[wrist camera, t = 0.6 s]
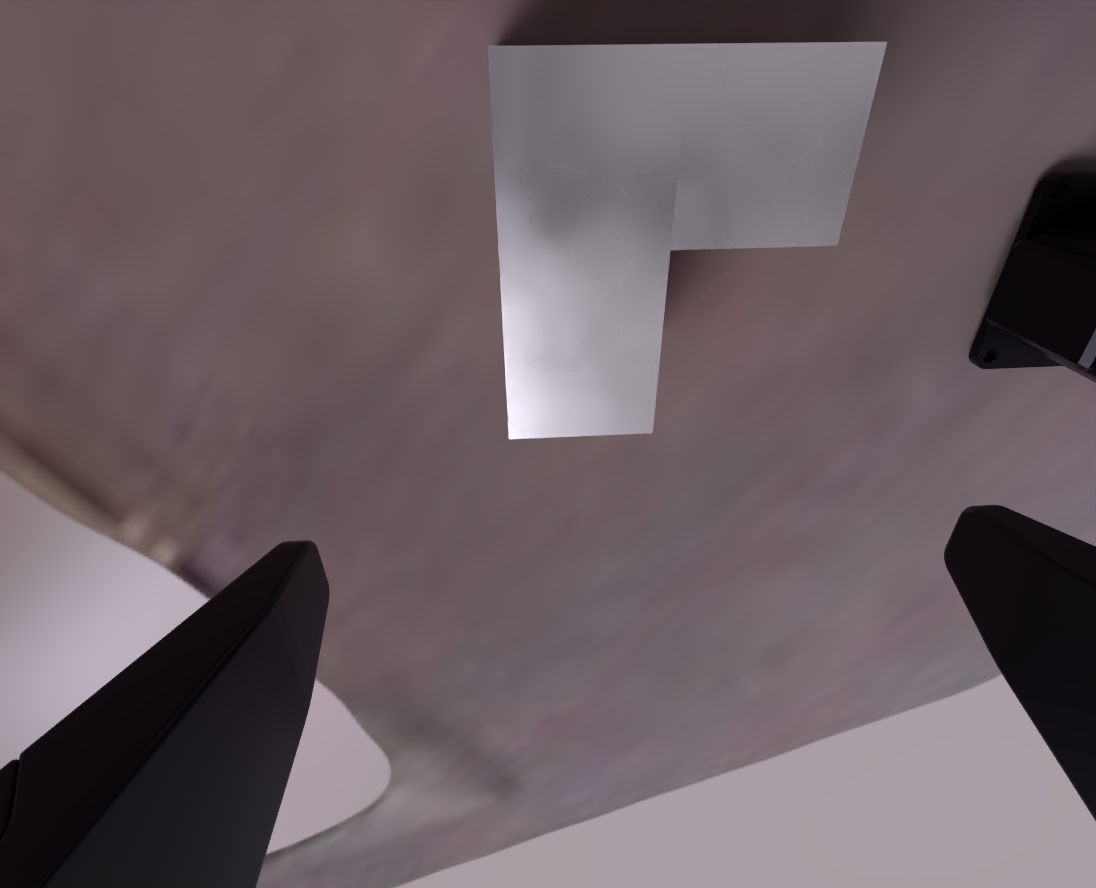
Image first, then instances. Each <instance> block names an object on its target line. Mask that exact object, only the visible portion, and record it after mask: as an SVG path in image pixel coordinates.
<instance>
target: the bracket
mask: <svg viewBox="0 0 1096 888" xmlns="http://www.w3.org/2000/svg"><path fill="white" fill-rule="evenodd" d="M886 45H887V42H808V43H714V44H621V45H527V46H488V61H489V80H490V98H491V117H492V135H493V154H494V172H495V191H496V209H497V228H498V246H499V264H500V283H501V301H502V320H503V338H504V357H505V375H506V394H507V412H508V431H509V439H525V438H548V437H572V436H595V435H619V434H643V433H653V423H654V413H655V403H656V393H657V382H658V372H659V362H660V352H661V342H662V331H663V321H664V311H665V301H666V291H667V281H668V270H669V260H670V250H699V249H736V248H772V247H808V246H837V245H838V241H839V237H840V233H841V229H842V225H843V220H844V216H845V212H846V208H847V204H848V200H849V196H850V192H851V188H852V184H853V180H854V176H855V172H856V167H857V163H858V159H859V155H860V151H861V147H862V143H863V139H864V135H865V131H866V127H867V123H868V119H869V114H870V110H871V106H872V102H873V98H874V94H875V90H876V86H877V82H878V78H879V74H880V70H881V66H882V62H883V57H884V53H885V49H886Z"/></svg>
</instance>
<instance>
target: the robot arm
mask: <svg viewBox="0 0 1096 888" xmlns="http://www.w3.org/2000/svg"><path fill="white" fill-rule="evenodd" d="M1058 184H1059V186H1058V190H1057V191H1056V193H1055V194H1054V195H1052V191H1053V190H1054V188H1055V187H1056V186H1057V185H1058ZM1051 195H1052V196H1051ZM988 351H990V352H989V353H988V355H987V356H985V357H984V355H985V354H986V353H987V352H988ZM969 359H970V362H972V363H973V364H975V365H976V366H978V367H979V368H982V369H998V368H1022V367H1046V366H1065V367H1067V368H1069V369H1071V370H1073V371H1075V372H1077V373H1079V374H1081V375H1082V376H1084V377H1086V378H1088V379H1090V380H1092V381H1094V382H1096V171H1073V172H1054V173H1050V174H1049V175H1047V176H1045V177H1044V178H1043V179H1042V180H1041V181H1040V182H1039V183H1038V185H1037V187H1036V188H1035V190H1034V193H1033V195H1032V198H1031V200H1030V203H1029V205H1028V208H1027V210H1026V213H1025V215H1024V218H1023V220H1022V223H1021V225H1020V228H1019V230H1018V233H1017V235H1016V238H1015V240H1014V243H1013V245H1012V248H1011V250H1010V253H1009V255H1008V258H1007V260H1006V263H1005V265H1004V268H1003V270H1002V273H1001V275H1000V278H999V280H998V283H997V285H996V288H995V290H994V293H993V295H992V298H991V300H990V303H989V305H988V308H987V310H986V313H985V315H984V318H983V320H982V323H981V325H980V328H979V330H978V333H977V335H976V338H975V340H974V343H973V345H972V348H971V350H970V353H969ZM944 560H945V564H946V567H947V570H948V571H949V573H950V575H951V577H952V579H953V581H954V583H955V585H956V587H957V589H958V591H959V593H960V595H961V597H962V599H963V601H964V603H965V605H966V607H967V609H968V611H969V613H970V615H971V617H972V619H973V621H974V622H975V624H976V626H977V628H978V630H979V632H980V634H981V636H982V638H983V640H984V642H985V644H986V646H987V648H988V650H989V652H990V654H991V655H992V657H993V659H994V661H995V663H996V665H997V666H998V668H999V670H1000V671H1001V673H1002V675H1003V676H1004V678H1005V679H1006V681H1007V683H1008V684H1009V686H1010V687H1011V689H1012V691H1013V692H1014V694H1015V695H1016V697H1017V698H1018V700H1019V702H1020V703H1021V705H1022V706H1023V708H1024V709H1025V711H1026V712H1027V714H1028V716H1029V717H1030V719H1031V720H1032V722H1033V724H1034V725H1035V726H1036V728H1037V730H1038V731H1039V733H1040V734H1041V736H1042V738H1043V739H1044V741H1045V742H1046V743H1047V745H1048V747H1049V749H1050V750H1051V752H1052V753H1053V755H1054V756H1055V758H1056V760H1057V761H1058V763H1059V764H1060V766H1061V767H1062V769H1063V770H1064V772H1065V774H1066V775H1067V777H1068V778H1069V780H1070V782H1071V783H1072V785H1073V786H1074V788H1075V789H1076V791H1077V792H1078V794H1079V795H1080V797H1081V799H1082V800H1083V802H1084V803H1085V805H1086V807H1087V808H1088V810H1089V811H1090V813H1091V814H1092V816H1093V817H1094V819H1095V821H1096V547H1095V546H1093V545H1091V544H1088V543H1086V542H1084V541H1082V540H1079V539H1077V538H1075V537H1072V536H1070V535H1068V534H1065V533H1063V532H1061V531H1059V530H1056V529H1054V528H1052V527H1049V526H1047V525H1045V524H1043V523H1040V522H1038V521H1036V520H1033V519H1031V518H1029V517H1026V516H1024V515H1022V514H1020V513H1017V512H1015V511H1013V510H1010V509H1008V508H1006V507H1003V506H999V505H982V506H971V507H968V508H966V509H965V510H964V511H963V512H962V513H961V515H960V516H959V519H958V521H957V523H956V525H955V528H954V530H953V532H952V534H951V537H950V539H949V541H948V543H947V545H946V548H945V552H944ZM328 603H329V584H328V580H327V577H326V574H325V571H324V567H323V564H322V561H321V558H320V555H319V551H318V548H317V546H316V545H315V543H314V542H312V541H309V540H305V541H287V542H282V543H280V544H279V545H277V546H276V547H275V548H273V549H272V550H271V551H270V552H268V553H267V554H266V555H265V556H263V557H262V558H261V559H260V560H259V561H257V562H256V563H255V564H254V565H252V566H251V567H250V568H249V569H247V570H246V571H245V572H244V573H242V574H241V575H240V576H239V577H238V578H236V579H235V580H234V581H233V582H231V583H230V584H229V585H228V586H226V587H225V588H224V589H223V590H222V591H220V592H219V593H218V594H217V595H215V596H214V597H213V598H212V599H210V600H209V601H208V602H207V603H205V604H204V605H203V606H202V607H201V608H199V609H198V610H197V611H196V612H194V613H193V614H192V615H191V616H189V617H188V618H187V619H186V620H184V621H183V622H182V623H181V624H180V625H178V626H177V627H176V628H175V629H174V630H172V631H171V632H170V633H168V634H167V635H166V636H165V637H164V638H162V639H161V640H160V641H159V642H157V643H156V644H155V645H154V646H153V647H151V648H150V649H149V650H147V651H146V652H145V653H144V654H143V655H141V656H140V657H139V658H138V659H136V660H135V661H134V662H133V663H132V664H130V665H129V666H128V667H126V668H125V669H124V670H123V671H122V672H120V673H119V674H118V675H117V676H116V677H114V678H113V679H112V680H111V681H109V682H108V683H107V684H106V685H104V686H103V687H102V688H101V689H100V690H98V691H97V692H96V693H95V694H93V695H92V696H91V697H89V698H88V699H87V700H86V701H85V702H83V703H82V704H81V705H80V706H78V707H77V708H76V709H75V710H73V711H72V712H71V713H70V714H69V715H68V716H66V717H65V718H64V719H62V720H61V721H60V722H59V723H57V724H56V725H55V726H54V727H53V728H51V729H50V730H49V731H48V732H46V733H45V734H44V735H43V736H41V737H40V738H39V739H38V740H36V741H35V742H34V743H33V744H31V745H30V746H29V747H28V748H27V749H26V750H24V751H23V752H22V753H21V754H20V757H19V760H17V759H16V760H12V761H10V762H9V763H8V764H7V765H6V766H4V767H3V768H2V769H0V888H256V886H257V882H258V879H259V875H260V872H261V869H262V865H263V862H264V859H265V855H266V852H267V849H268V845H269V842H270V839H271V835H272V832H273V829H274V825H275V822H276V819H277V815H278V812H279V808H280V805H281V802H282V798H283V795H284V792H285V788H286V785H287V782H288V778H289V775H290V772H291V768H292V765H293V762H294V758H295V755H296V751H297V748H298V745H299V742H300V738H301V735H302V731H303V728H304V725H305V721H306V717H307V714H308V710H309V706H310V701H311V697H312V691H313V687H314V681H315V676H316V670H317V664H318V659H319V653H320V648H321V642H322V637H323V631H324V625H325V620H326V614H327V609H328Z"/></svg>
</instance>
